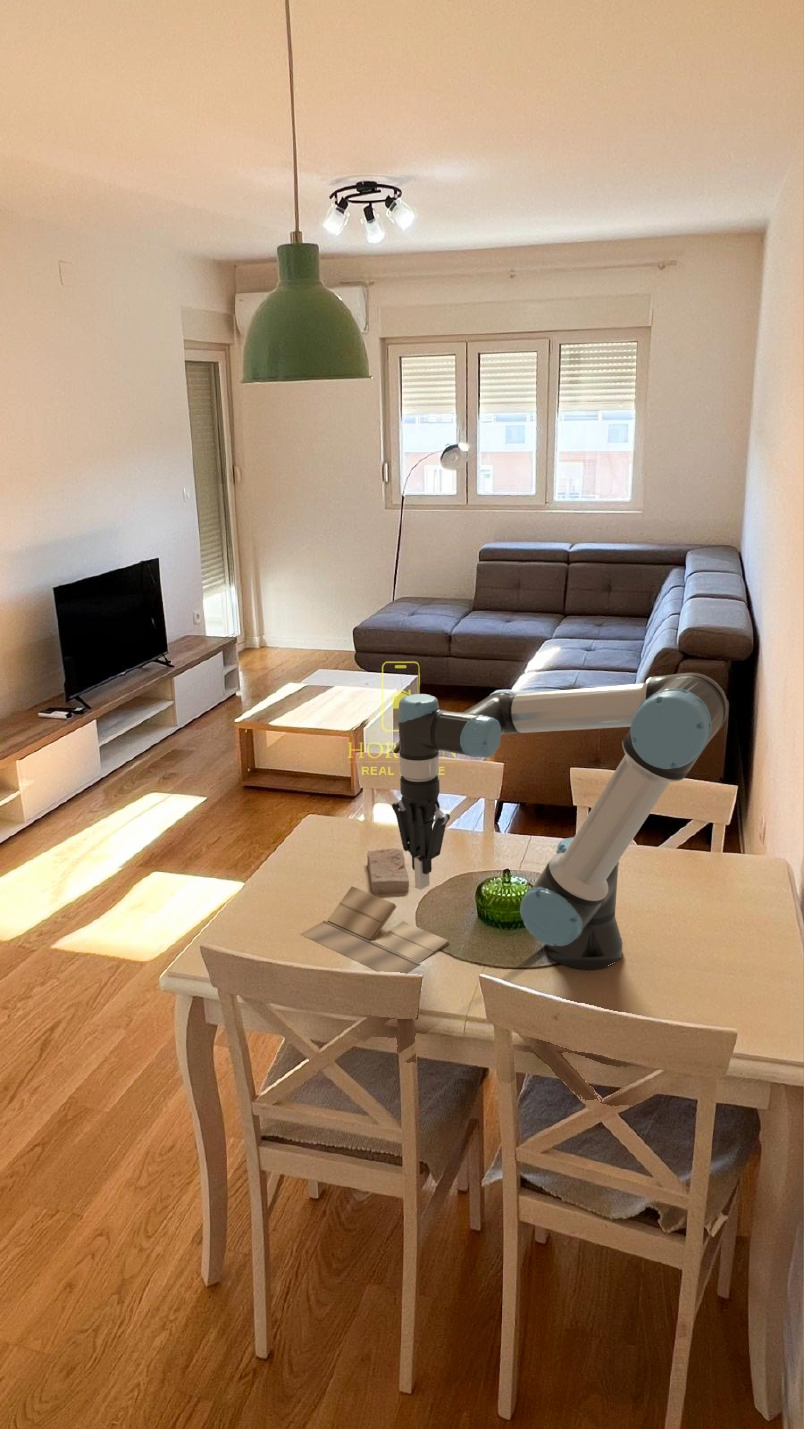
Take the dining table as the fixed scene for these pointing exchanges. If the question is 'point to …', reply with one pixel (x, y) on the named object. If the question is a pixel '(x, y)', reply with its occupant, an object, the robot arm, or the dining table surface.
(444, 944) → the plank
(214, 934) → the dining table surface
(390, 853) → the brick
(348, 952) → the floorboard
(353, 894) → the plank
